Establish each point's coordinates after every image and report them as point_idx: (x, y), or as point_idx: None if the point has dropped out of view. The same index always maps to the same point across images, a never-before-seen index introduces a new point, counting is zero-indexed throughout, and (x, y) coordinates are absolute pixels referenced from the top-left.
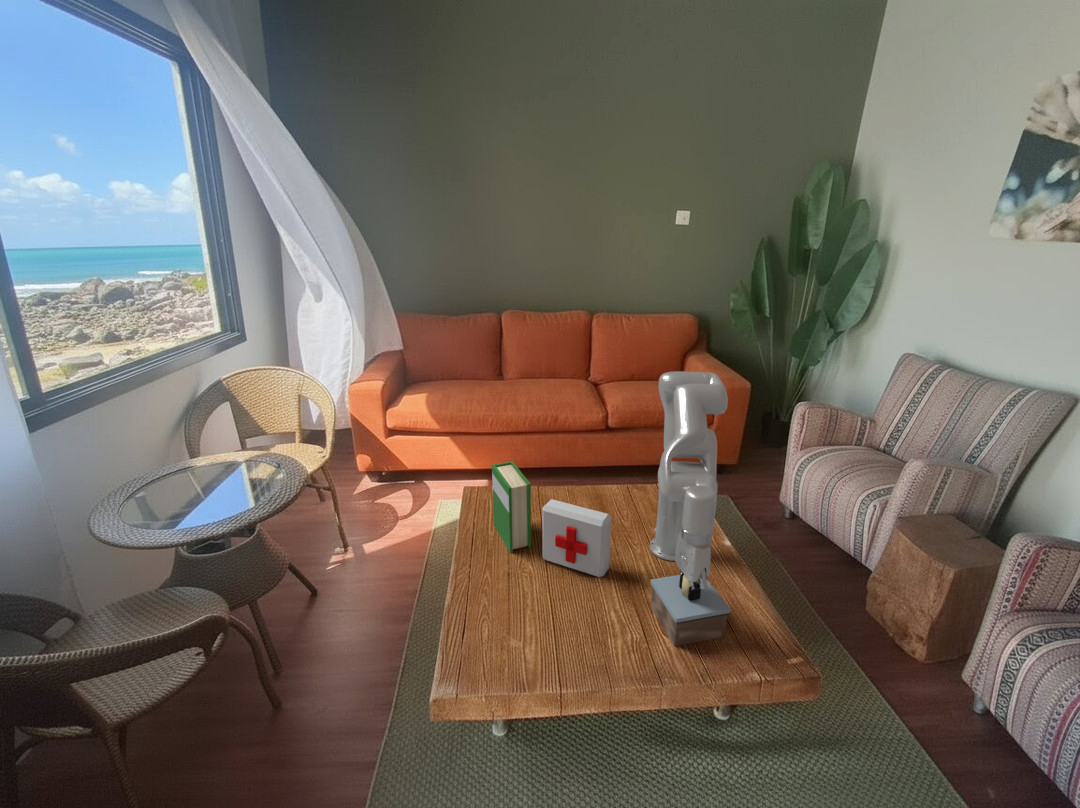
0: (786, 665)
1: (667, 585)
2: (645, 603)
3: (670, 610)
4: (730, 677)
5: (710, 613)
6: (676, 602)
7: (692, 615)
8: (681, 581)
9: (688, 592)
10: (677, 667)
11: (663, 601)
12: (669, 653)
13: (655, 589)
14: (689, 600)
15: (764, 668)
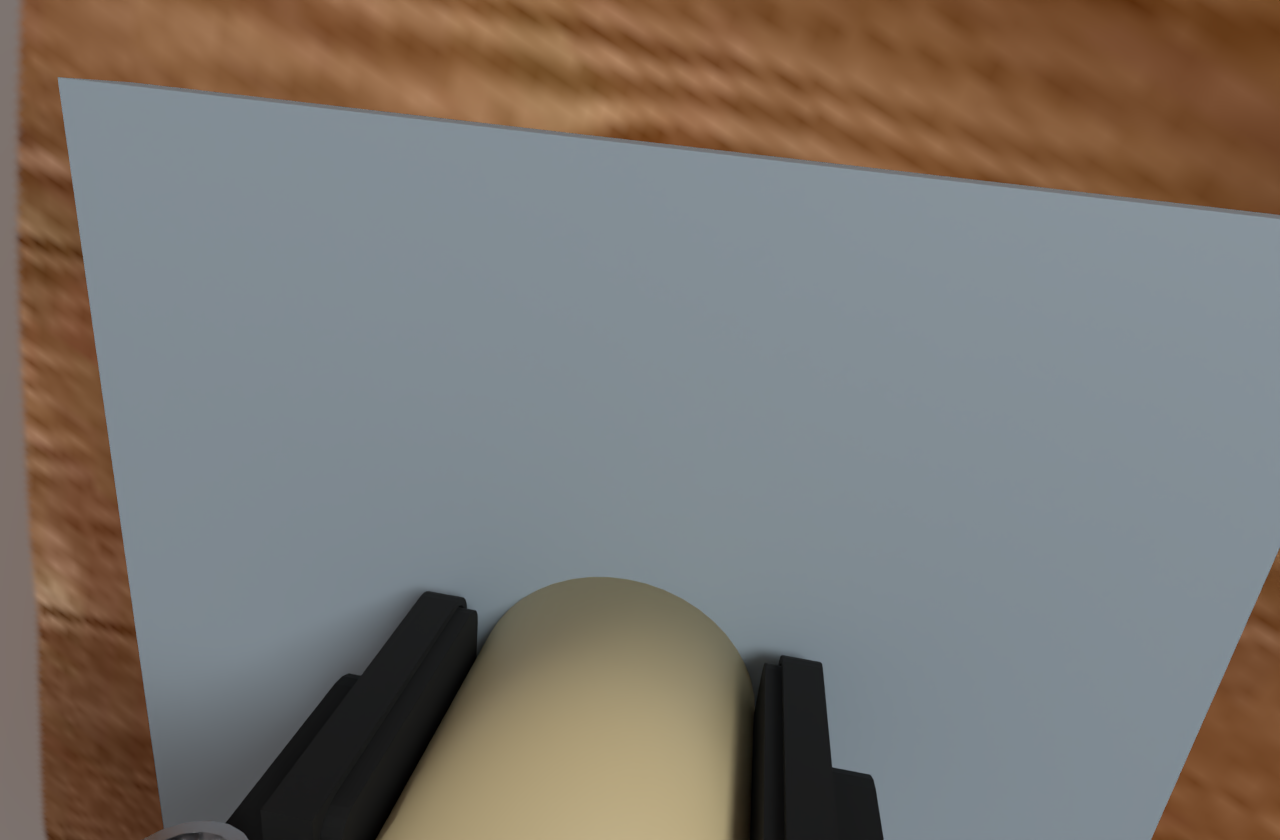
0: (115, 813)
1: (992, 489)
2: (1173, 198)
3: (310, 107)
4: (44, 412)
5: (154, 695)
6: (475, 359)
7: (120, 426)
8: (765, 791)
9: (398, 695)
10: (185, 10)
11: (640, 143)
12: (366, 32)
13: (1060, 191)
14: (428, 598)
15: (104, 683)
